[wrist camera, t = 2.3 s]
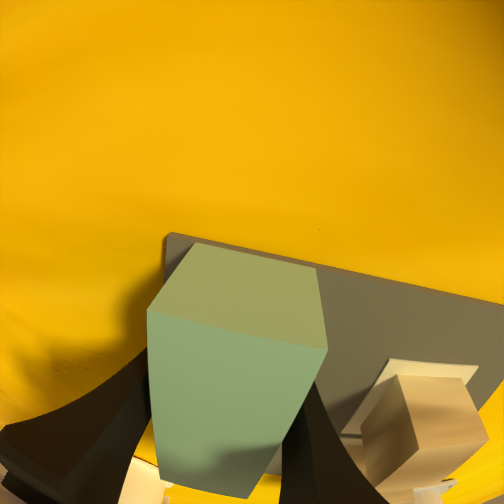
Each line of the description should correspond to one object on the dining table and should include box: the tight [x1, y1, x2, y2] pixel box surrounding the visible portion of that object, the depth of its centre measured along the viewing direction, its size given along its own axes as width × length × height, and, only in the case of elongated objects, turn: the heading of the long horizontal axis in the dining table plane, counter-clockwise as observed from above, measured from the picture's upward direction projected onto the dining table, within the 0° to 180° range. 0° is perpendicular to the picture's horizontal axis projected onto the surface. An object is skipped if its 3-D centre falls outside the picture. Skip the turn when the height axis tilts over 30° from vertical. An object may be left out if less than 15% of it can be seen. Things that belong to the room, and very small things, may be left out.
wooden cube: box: [344, 445, 415, 504], centre depth 13 cm, size 4×4×4 cm
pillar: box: [360, 374, 489, 492], centre depth 10 cm, size 4×4×4 cm
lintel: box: [147, 242, 328, 499], centre depth 10 cm, size 10×4×4 cm, turn 169°
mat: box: [164, 232, 504, 475], centre depth 13 cm, size 15×18×1 cm
